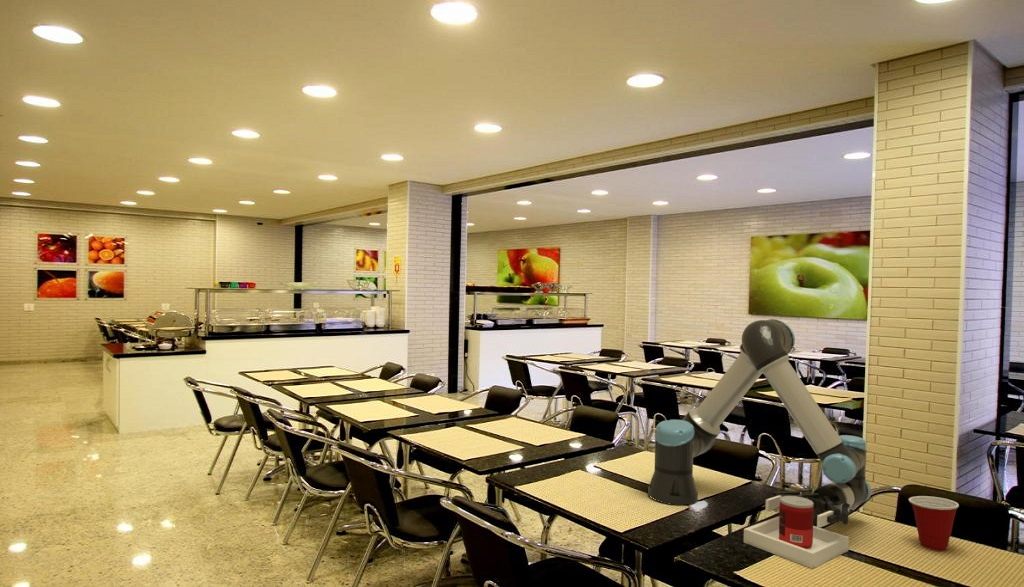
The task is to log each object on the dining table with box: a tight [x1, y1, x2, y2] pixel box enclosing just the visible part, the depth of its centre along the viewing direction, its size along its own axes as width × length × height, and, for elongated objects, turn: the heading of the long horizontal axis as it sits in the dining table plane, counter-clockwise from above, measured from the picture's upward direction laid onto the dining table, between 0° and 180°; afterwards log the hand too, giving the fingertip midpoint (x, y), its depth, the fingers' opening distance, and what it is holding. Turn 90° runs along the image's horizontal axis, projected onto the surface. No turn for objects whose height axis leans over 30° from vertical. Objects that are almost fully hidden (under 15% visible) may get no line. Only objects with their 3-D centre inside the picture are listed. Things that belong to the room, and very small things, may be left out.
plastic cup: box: [908, 495, 960, 552], centre depth 159 cm, size 11×11×12 cm
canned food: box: [778, 496, 815, 549], centre depth 156 cm, size 8×8×11 cm
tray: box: [743, 515, 850, 569], centre depth 156 cm, size 18×18×4 cm
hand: (791, 513), depth 155 cm, fingers open, 13 cm apart
